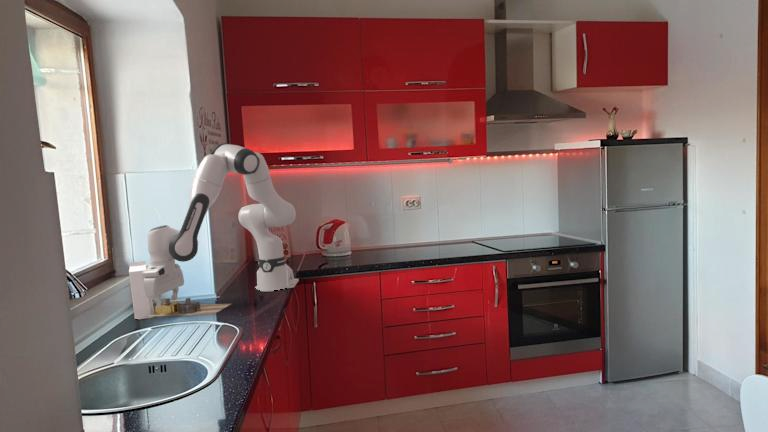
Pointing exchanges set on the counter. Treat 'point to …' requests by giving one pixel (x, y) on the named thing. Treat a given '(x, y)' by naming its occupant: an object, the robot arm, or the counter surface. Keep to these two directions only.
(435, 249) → the counter surface
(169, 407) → the counter surface
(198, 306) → the gear board
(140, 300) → the milk
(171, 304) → the toothed rectangular frame
